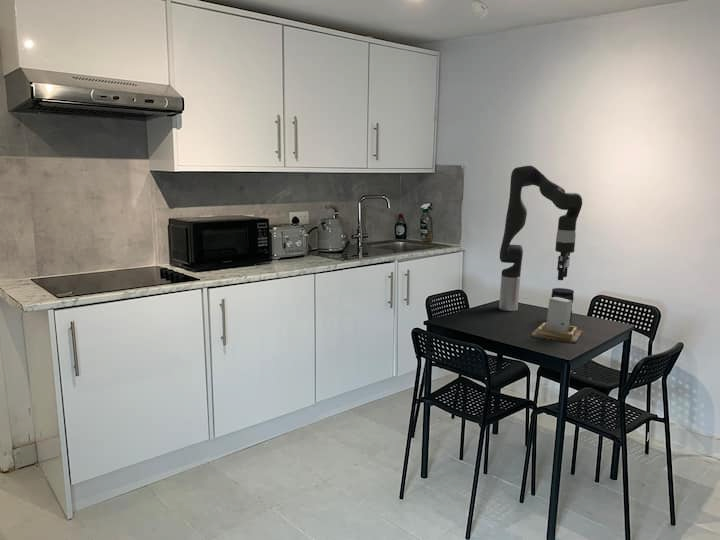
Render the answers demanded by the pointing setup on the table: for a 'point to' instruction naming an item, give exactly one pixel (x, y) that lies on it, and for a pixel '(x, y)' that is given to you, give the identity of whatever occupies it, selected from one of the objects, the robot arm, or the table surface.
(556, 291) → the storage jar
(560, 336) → the plate
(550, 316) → the skincare box
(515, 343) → the table surface
